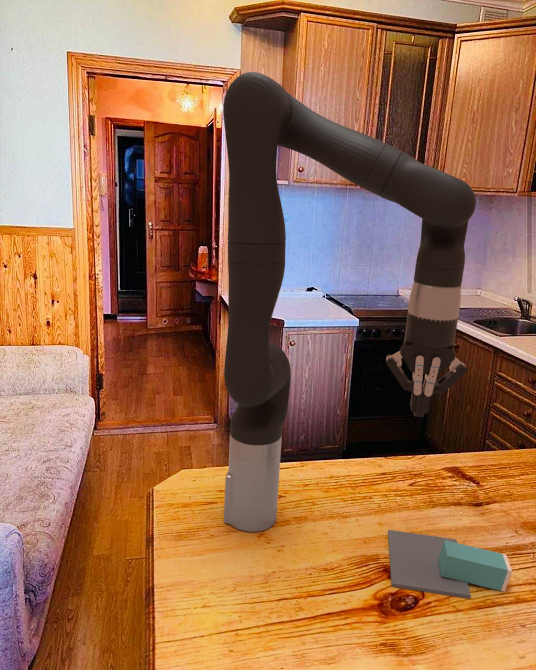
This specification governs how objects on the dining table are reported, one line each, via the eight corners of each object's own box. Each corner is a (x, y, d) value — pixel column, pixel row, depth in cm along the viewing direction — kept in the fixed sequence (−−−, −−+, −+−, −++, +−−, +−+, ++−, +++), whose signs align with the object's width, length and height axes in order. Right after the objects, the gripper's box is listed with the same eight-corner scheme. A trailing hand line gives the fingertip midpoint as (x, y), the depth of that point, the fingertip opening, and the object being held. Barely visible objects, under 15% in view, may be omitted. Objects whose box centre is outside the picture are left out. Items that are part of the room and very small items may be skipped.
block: (447, 555, 89) (512, 571, 88) (444, 540, 93) (506, 554, 92) (441, 576, 91) (504, 591, 89) (438, 559, 94) (499, 574, 93)
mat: (391, 586, 89) (391, 583, 89) (387, 532, 103) (388, 529, 102) (470, 598, 88) (470, 595, 87) (456, 542, 101) (456, 539, 101)
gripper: (390, 313, 85) (377, 419, 90) (482, 322, 83) (464, 429, 88) (388, 302, 92) (376, 401, 97) (473, 309, 90) (456, 410, 95)
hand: (418, 414), depth 92 cm, fingers closed
